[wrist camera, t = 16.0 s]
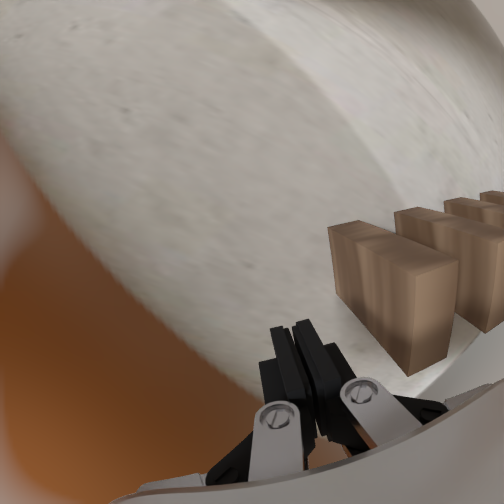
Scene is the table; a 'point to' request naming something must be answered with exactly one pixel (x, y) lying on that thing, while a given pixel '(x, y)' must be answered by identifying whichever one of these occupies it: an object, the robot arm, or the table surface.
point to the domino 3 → (464, 259)
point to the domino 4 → (492, 197)
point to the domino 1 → (396, 291)
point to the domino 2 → (476, 210)
